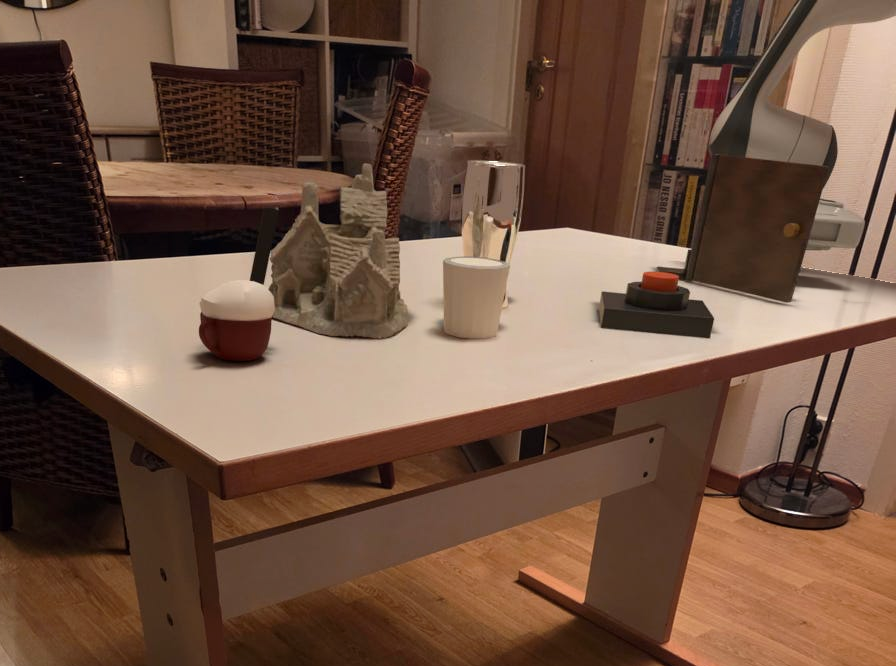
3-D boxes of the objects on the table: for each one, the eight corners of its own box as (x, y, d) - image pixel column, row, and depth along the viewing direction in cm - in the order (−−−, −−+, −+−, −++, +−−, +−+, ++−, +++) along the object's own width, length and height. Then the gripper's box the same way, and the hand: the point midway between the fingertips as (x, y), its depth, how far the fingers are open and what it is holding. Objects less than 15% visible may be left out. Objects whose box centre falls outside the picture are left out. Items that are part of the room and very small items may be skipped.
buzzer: (698, 319, 104) (706, 284, 102) (709, 338, 96) (718, 300, 93) (598, 310, 105) (604, 275, 103) (600, 328, 97) (607, 290, 95)
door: (792, 302, 115) (830, 166, 107) (781, 303, 114) (819, 166, 105) (689, 277, 127) (716, 153, 118) (678, 278, 126) (704, 153, 117)
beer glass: (497, 298, 108) (512, 161, 100) (520, 310, 102) (537, 166, 94) (445, 298, 106) (456, 158, 98) (466, 310, 100) (478, 164, 92)
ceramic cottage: (273, 296, 100) (272, 148, 91) (414, 313, 99) (427, 166, 90) (238, 336, 87) (233, 169, 78) (399, 356, 87) (412, 191, 78)
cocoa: (208, 371, 73) (198, 216, 67) (179, 353, 78) (166, 205, 71) (306, 359, 78) (304, 214, 72) (273, 343, 83) (269, 204, 76)
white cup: (428, 325, 93) (432, 255, 89) (485, 323, 95) (492, 255, 91) (453, 341, 87) (459, 267, 84) (513, 339, 90) (522, 267, 86)
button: (673, 289, 100) (677, 273, 99) (677, 296, 96) (681, 279, 96) (639, 286, 100) (642, 270, 99) (641, 292, 97) (644, 276, 96)
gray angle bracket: (690, 276, 130) (697, 248, 128) (694, 281, 127) (700, 251, 125) (655, 273, 131) (661, 244, 129) (657, 278, 128) (663, 248, 125)
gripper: (710, 191, 127) (724, 200, 116) (853, 203, 125) (882, 213, 114) (700, 237, 131) (712, 251, 119) (839, 250, 129) (865, 264, 117)
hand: (796, 233), depth 117 cm, fingers closed
